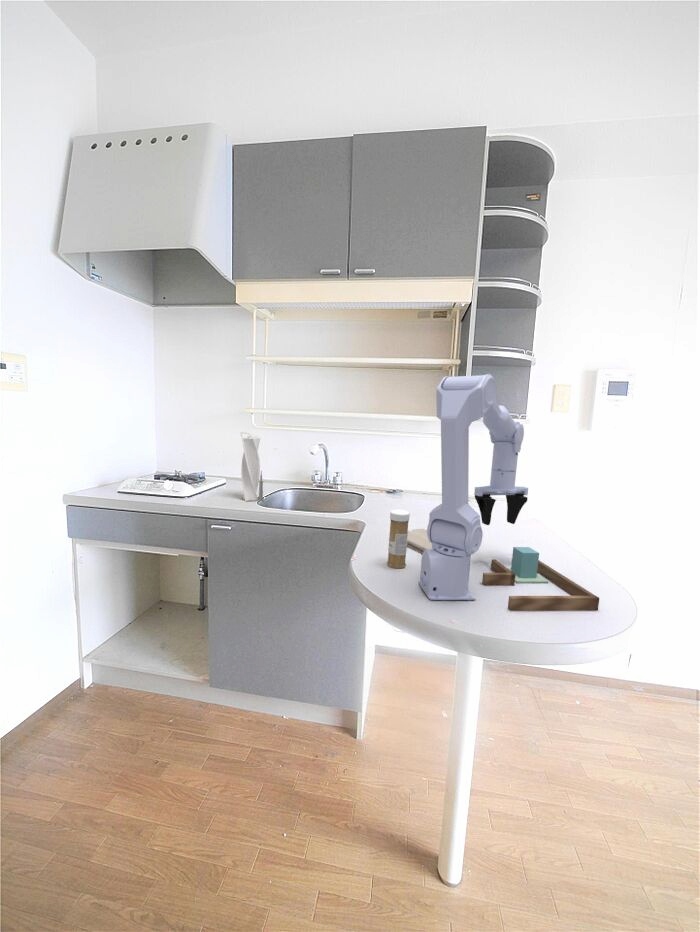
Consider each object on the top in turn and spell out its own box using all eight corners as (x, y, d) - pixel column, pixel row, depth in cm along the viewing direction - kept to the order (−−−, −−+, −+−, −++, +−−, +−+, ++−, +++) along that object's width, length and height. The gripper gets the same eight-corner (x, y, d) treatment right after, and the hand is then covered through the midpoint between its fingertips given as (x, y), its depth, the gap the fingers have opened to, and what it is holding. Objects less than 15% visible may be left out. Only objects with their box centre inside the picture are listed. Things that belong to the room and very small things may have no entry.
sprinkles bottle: (385, 561, 93) (388, 508, 92) (403, 562, 94) (407, 509, 92) (389, 569, 89) (392, 513, 87) (408, 569, 89) (411, 514, 88)
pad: (516, 583, 84) (516, 581, 84) (499, 569, 92) (499, 568, 92) (548, 583, 85) (548, 581, 85) (529, 569, 93) (529, 568, 93)
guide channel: (510, 610, 71) (511, 598, 71) (467, 569, 91) (468, 559, 91) (597, 610, 73) (599, 598, 73) (536, 569, 93) (538, 559, 93)
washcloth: (430, 560, 97) (431, 548, 97) (388, 540, 112) (389, 530, 112) (462, 553, 103) (463, 542, 103) (418, 535, 119) (419, 525, 118)
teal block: (520, 578, 86) (522, 552, 85) (510, 571, 90) (513, 546, 89) (536, 578, 87) (539, 553, 86) (526, 571, 91) (529, 547, 90)
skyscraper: (242, 502, 150) (243, 432, 146) (237, 498, 157) (238, 431, 153) (263, 501, 154) (264, 433, 151) (257, 497, 161) (258, 432, 158)
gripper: (489, 472, 87) (484, 529, 89) (539, 472, 92) (533, 526, 93) (471, 468, 94) (466, 521, 95) (518, 468, 98) (513, 519, 100)
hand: (498, 523), depth 95 cm, fingers open, 7 cm apart
